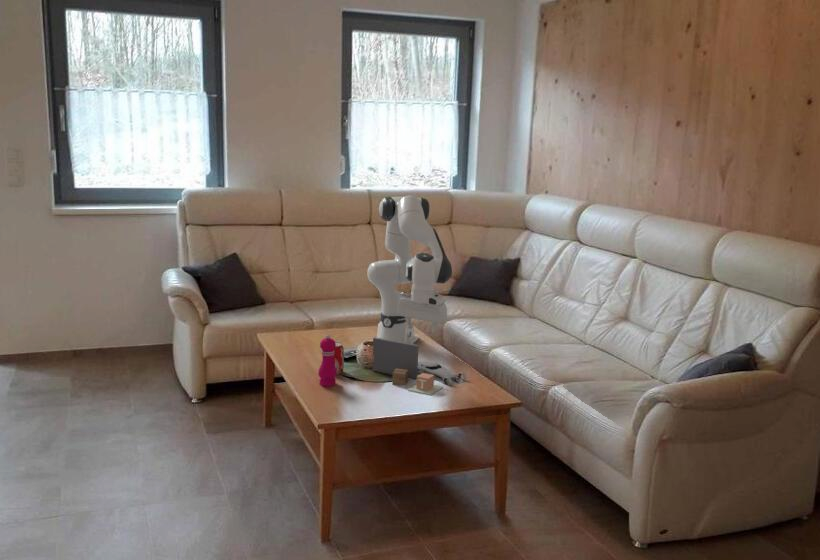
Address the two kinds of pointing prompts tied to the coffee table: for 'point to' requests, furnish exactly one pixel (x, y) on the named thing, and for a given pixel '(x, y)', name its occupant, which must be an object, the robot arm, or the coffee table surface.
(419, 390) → the felt mat
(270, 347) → the coffee table surface
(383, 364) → the screen
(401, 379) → the walnut block
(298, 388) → the coffee table surface
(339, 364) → the soda can
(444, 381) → the car model
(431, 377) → the letter block
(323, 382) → the pepper mill
